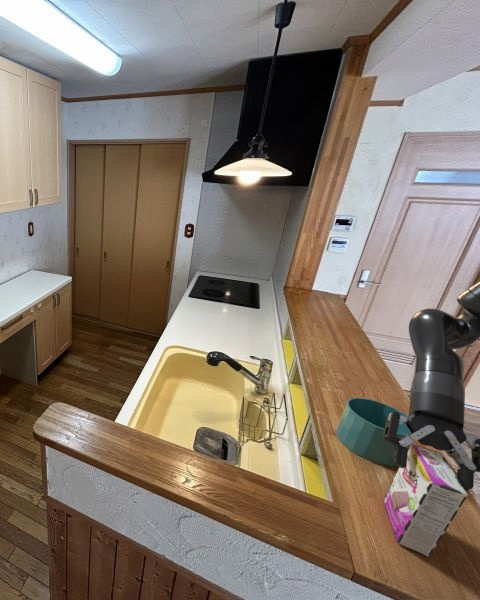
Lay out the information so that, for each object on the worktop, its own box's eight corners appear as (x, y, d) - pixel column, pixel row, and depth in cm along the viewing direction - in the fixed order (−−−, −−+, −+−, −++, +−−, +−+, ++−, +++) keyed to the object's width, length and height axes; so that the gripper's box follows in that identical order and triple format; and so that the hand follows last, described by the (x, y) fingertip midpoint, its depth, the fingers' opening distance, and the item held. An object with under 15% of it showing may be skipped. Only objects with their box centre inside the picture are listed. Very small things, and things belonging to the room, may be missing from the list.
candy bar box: (380, 499, 72) (410, 442, 66) (410, 511, 70) (443, 452, 64) (395, 544, 63) (431, 481, 57) (430, 559, 60) (471, 495, 55)
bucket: (388, 435, 92) (402, 406, 88) (415, 474, 79) (433, 442, 76) (328, 420, 97) (339, 392, 93) (345, 454, 84) (358, 423, 81)
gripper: (399, 381, 67) (391, 459, 62) (500, 408, 60) (500, 498, 55) (384, 390, 73) (375, 461, 68) (474, 415, 66) (471, 498, 61)
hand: (431, 478), depth 61 cm, fingers open, 8 cm apart
